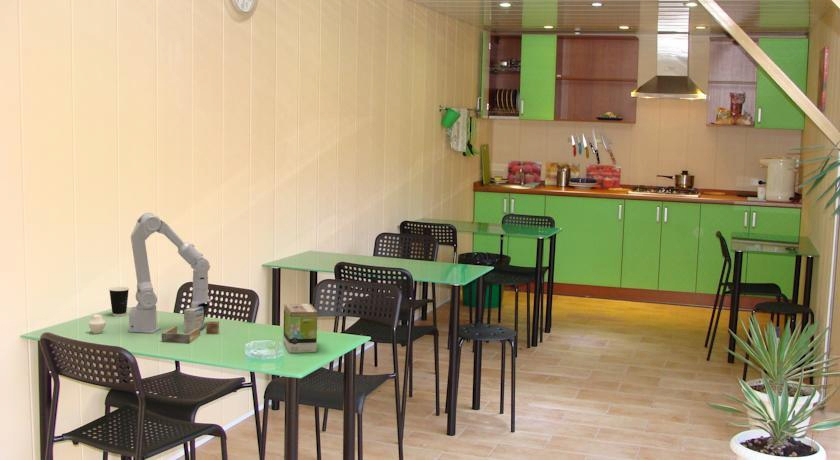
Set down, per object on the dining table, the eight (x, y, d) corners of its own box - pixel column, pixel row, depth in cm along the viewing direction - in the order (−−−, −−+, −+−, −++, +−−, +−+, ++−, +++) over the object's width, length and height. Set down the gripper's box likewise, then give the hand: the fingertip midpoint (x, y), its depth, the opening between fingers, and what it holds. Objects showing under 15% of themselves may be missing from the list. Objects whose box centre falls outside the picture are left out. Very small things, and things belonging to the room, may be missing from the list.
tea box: (317, 352, 317) (318, 310, 315) (288, 353, 314) (289, 311, 312) (310, 342, 331) (310, 302, 329) (282, 343, 328) (283, 303, 326)
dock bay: (161, 341, 325) (161, 333, 325) (174, 334, 337) (174, 326, 337) (188, 343, 324) (188, 334, 324) (200, 335, 336) (200, 327, 336)
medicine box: (194, 333, 339) (194, 310, 338) (183, 332, 340) (183, 309, 339) (203, 328, 347) (203, 306, 346) (193, 328, 348) (193, 305, 347)
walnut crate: (206, 334, 339) (206, 323, 338) (208, 331, 343) (208, 321, 342) (217, 334, 339) (217, 323, 339) (218, 331, 343) (218, 321, 343)
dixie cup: (128, 317, 363) (128, 290, 362) (107, 317, 362) (107, 290, 360) (130, 313, 371) (130, 286, 370) (110, 313, 369) (109, 286, 368)
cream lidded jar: (84, 333, 335) (84, 314, 334) (97, 329, 340) (97, 311, 339) (96, 335, 332) (96, 316, 331) (109, 332, 337) (109, 313, 337)
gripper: (204, 292, 341) (204, 327, 343) (216, 285, 356) (216, 319, 357) (185, 291, 342) (186, 326, 344) (199, 284, 356) (199, 318, 358)
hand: (200, 322), depth 351 cm, fingers closed
